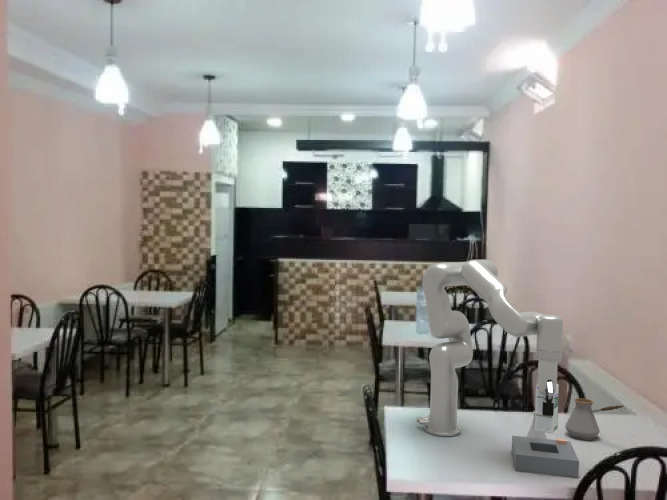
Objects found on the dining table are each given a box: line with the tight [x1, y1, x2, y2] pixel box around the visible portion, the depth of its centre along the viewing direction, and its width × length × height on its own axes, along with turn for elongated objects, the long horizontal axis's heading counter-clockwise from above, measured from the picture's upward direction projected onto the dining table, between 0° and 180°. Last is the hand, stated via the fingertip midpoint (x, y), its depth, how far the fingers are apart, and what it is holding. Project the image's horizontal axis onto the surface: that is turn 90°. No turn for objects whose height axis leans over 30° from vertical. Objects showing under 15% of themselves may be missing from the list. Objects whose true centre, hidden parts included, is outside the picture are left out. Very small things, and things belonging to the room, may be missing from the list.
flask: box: [526, 410, 547, 439], centre depth 222 cm, size 7×7×10 cm
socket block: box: [511, 435, 580, 479], centre depth 200 cm, size 18×18×6 cm
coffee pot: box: [565, 397, 626, 441], centre depth 224 cm, size 21×12×15 cm, turn 32°
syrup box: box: [534, 383, 560, 435], centre depth 200 cm, size 6×6×14 cm
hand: (546, 411), depth 200 cm, fingers closed on syrup box, 7 cm apart
